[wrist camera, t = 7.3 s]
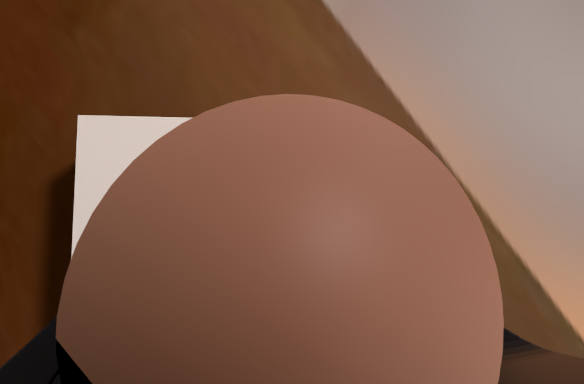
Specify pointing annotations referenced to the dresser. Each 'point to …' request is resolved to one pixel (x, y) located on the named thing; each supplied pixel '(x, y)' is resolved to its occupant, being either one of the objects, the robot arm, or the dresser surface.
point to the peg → (282, 258)
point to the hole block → (109, 156)
